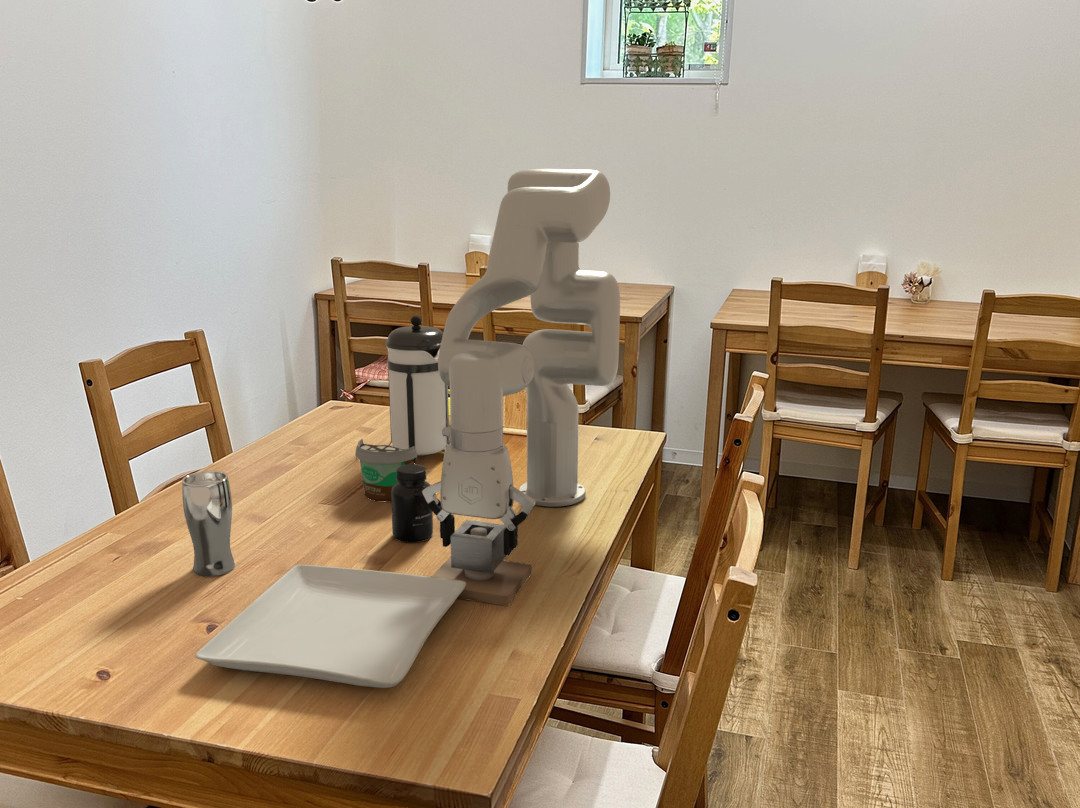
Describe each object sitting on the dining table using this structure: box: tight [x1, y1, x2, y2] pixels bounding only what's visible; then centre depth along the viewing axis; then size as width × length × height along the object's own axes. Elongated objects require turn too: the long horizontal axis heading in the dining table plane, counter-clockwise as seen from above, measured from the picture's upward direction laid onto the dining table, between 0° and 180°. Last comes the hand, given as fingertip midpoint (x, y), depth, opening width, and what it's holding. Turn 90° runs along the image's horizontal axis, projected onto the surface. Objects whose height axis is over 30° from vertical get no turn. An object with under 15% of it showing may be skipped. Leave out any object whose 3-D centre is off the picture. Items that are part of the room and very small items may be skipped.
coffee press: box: [385, 315, 451, 464], centre depth 192 cm, size 17×16×30 cm
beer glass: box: [181, 470, 236, 578], centre depth 140 cm, size 7×7×15 cm
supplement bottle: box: [390, 463, 434, 544], centre depth 153 cm, size 7×7×12 cm
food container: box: [354, 438, 418, 502], centre depth 170 cm, size 12×6×10 cm, turn 68°
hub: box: [450, 519, 508, 573], centre depth 136 cm, size 6×6×5 cm
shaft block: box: [430, 527, 533, 607], centre depth 136 cm, size 11×13×8 cm
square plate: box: [194, 564, 466, 689], centre depth 122 cm, size 27×27×4 cm
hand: (478, 547), depth 136 cm, fingers open, 9 cm apart
